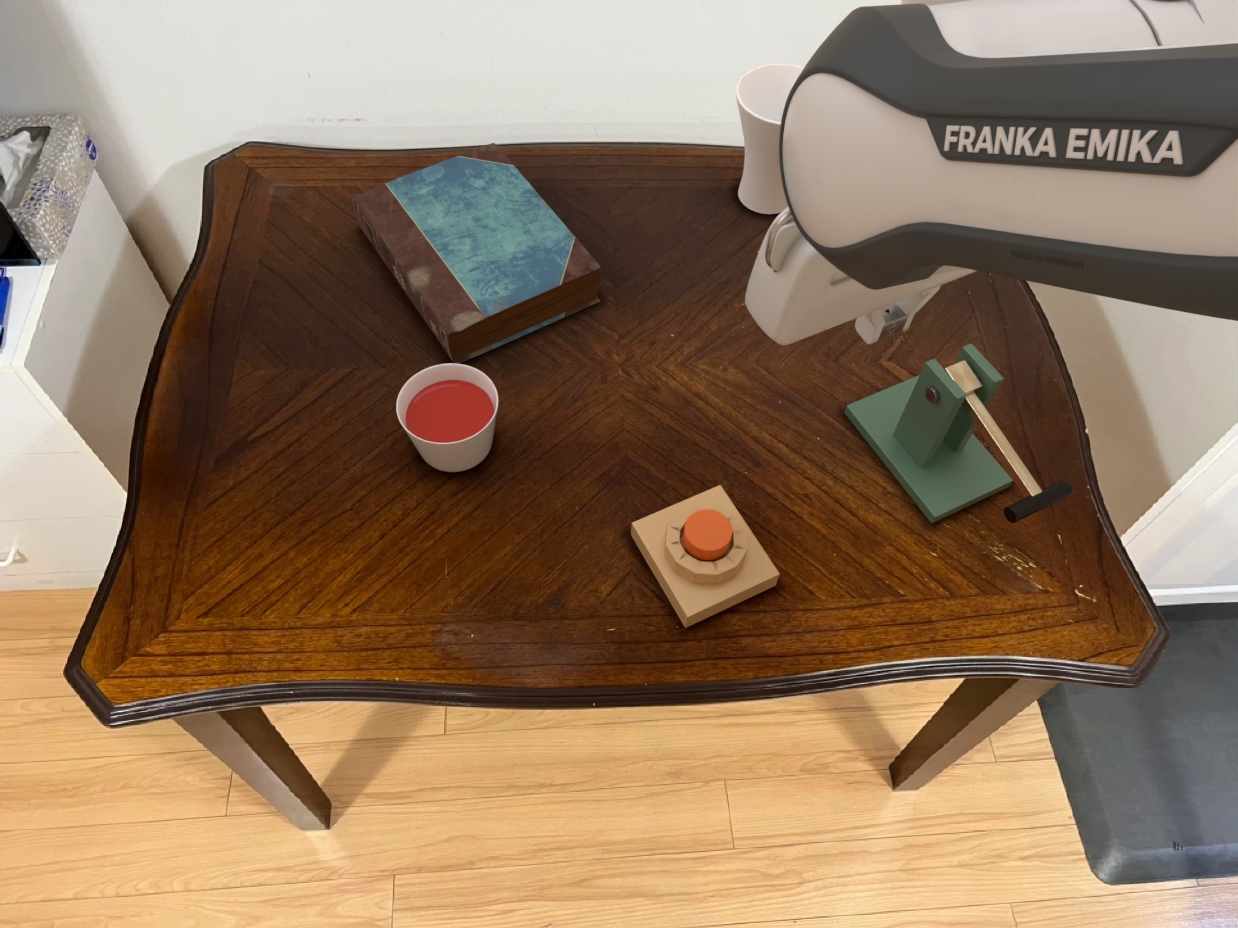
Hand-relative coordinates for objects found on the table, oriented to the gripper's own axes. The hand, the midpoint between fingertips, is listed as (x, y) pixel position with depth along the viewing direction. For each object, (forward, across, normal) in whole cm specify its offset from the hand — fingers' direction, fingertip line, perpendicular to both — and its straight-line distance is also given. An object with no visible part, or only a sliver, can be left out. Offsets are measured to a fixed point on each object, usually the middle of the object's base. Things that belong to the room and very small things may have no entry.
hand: (880, 330), depth 60 cm
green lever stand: (+29, +17, +4) cm, 34 cm away
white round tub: (+29, -23, +24) cm, 44 cm away
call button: (+29, -8, +3) cm, 30 cm away
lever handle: (+21, +17, -1) cm, 27 cm away
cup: (+29, +22, +41) cm, 55 cm away
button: (+25, -8, +3) cm, 27 cm away
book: (+29, -12, +45) cm, 55 cm away
